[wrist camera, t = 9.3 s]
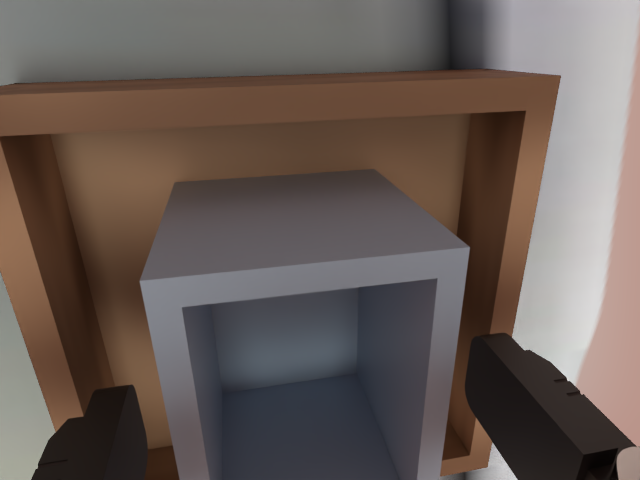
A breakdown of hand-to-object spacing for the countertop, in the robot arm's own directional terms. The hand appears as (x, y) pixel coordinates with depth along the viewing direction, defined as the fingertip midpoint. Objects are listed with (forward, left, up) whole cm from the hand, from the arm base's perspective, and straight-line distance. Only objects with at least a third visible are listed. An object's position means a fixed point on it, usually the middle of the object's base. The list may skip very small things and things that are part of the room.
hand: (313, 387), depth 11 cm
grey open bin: (0, 0, -5) cm, 5 cm away
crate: (0, 0, -6) cm, 6 cm away
